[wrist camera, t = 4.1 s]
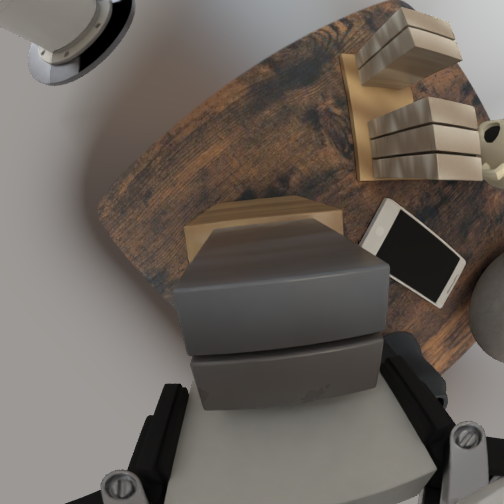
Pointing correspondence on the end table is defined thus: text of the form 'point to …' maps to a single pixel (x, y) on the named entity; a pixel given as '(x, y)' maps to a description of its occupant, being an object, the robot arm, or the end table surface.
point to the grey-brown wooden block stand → (408, 105)
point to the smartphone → (413, 253)
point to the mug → (415, 362)
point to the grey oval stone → (489, 310)
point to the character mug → (492, 152)
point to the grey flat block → (300, 453)
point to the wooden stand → (279, 305)
